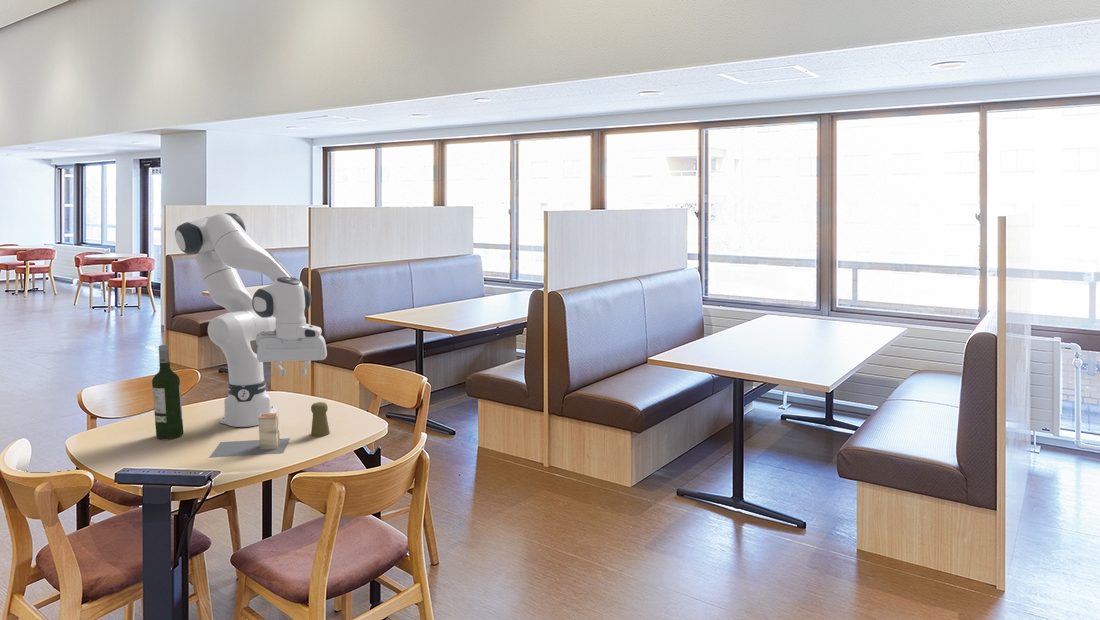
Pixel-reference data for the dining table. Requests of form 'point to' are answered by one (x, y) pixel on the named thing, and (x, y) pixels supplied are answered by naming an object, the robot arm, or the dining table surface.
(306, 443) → the dining table surface
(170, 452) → the dining table surface
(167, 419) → the wine bottle
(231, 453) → the rubber mat
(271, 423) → the pine block
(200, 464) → the dining table surface
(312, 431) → the cork
